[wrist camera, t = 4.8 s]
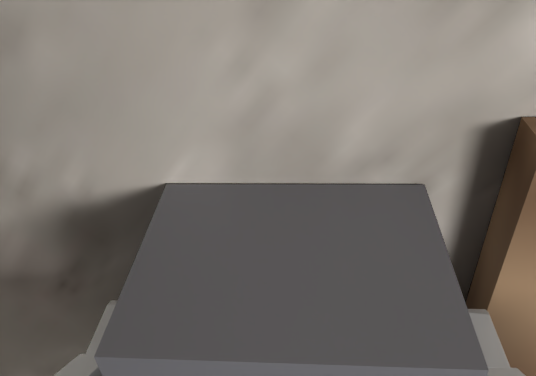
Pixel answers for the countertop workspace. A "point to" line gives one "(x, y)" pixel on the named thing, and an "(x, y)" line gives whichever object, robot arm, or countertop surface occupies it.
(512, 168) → the brown square board
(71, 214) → the countertop surface
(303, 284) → the square tunnel box
